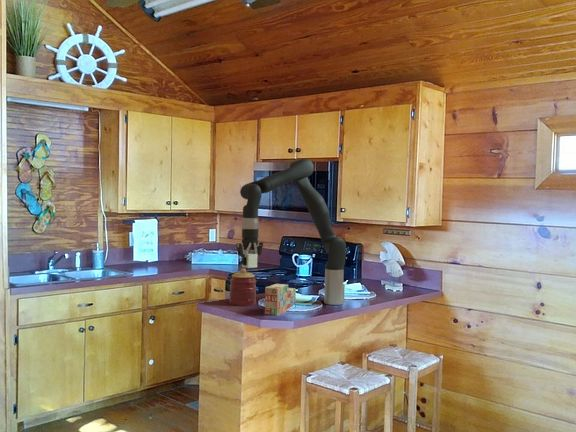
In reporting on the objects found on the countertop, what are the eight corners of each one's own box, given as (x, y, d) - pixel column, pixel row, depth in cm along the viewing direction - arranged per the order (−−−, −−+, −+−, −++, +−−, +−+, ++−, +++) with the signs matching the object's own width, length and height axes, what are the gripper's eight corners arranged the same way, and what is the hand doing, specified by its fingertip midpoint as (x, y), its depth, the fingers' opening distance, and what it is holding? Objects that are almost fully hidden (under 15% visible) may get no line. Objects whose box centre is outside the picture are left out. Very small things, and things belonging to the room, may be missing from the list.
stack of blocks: (283, 306, 266) (284, 281, 266) (295, 307, 264) (296, 282, 263) (264, 314, 247) (264, 286, 246) (277, 315, 244) (277, 288, 244)
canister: (236, 301, 276) (237, 266, 275) (260, 303, 271) (261, 267, 271) (224, 305, 264) (225, 268, 263) (248, 308, 259) (249, 270, 259)
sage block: (250, 266, 257) (250, 253, 256) (257, 267, 253) (257, 254, 253) (241, 266, 253) (242, 253, 253) (248, 267, 250) (248, 254, 249)
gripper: (257, 227, 260) (257, 263, 261) (232, 227, 251) (231, 265, 251) (267, 228, 254) (266, 264, 255) (242, 228, 245) (241, 266, 246)
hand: (249, 264), depth 253 cm, fingers closed on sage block, 5 cm apart
